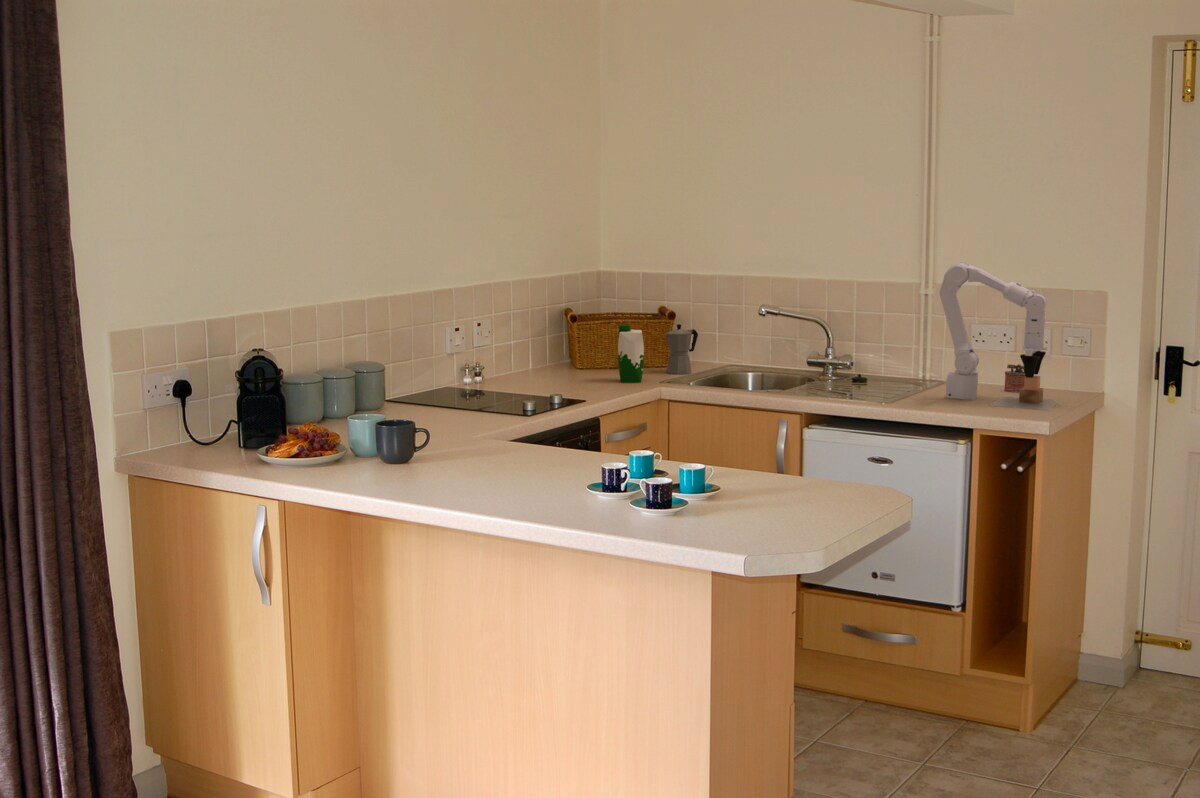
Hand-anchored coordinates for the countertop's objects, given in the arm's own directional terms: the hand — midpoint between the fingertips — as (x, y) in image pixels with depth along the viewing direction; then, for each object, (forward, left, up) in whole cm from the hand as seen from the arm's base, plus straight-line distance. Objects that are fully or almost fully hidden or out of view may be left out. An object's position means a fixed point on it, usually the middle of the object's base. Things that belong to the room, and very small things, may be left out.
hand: (1031, 375), depth 402 cm
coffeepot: (-127, +9, -9) cm, 128 cm away
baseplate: (-1, -4, -9) cm, 10 cm away
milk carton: (-134, -17, -9) cm, 135 cm away
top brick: (0, 0, -4) cm, 4 cm away
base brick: (0, 0, -8) cm, 8 cm away
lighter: (-8, +17, -9) cm, 21 cm away
